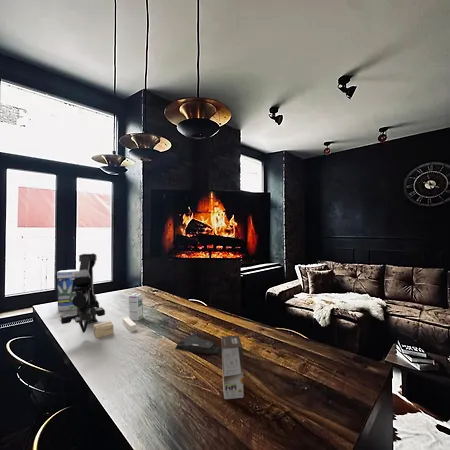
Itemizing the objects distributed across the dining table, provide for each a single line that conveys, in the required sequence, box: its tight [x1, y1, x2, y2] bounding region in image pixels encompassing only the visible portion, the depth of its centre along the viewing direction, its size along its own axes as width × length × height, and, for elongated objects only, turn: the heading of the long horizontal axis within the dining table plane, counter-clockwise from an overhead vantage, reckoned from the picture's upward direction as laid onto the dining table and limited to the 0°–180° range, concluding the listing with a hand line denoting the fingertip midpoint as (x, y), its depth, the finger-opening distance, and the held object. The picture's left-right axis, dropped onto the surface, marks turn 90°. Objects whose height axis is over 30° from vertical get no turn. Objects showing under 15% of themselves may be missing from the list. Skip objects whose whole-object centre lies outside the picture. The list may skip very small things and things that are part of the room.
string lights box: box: [56, 269, 81, 311], centre depth 176 cm, size 13×8×26 cm, turn 104°
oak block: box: [93, 320, 114, 339], centre depth 133 cm, size 6×8×5 cm
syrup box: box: [128, 292, 144, 321], centre depth 153 cm, size 6×6×14 cm
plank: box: [122, 316, 137, 333], centre depth 141 cm, size 14×3×3 cm, turn 37°
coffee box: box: [220, 334, 245, 400], centre depth 85 cm, size 9×6×16 cm
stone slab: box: [174, 332, 222, 355], centre depth 116 cm, size 22×16×5 cm
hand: (83, 332), depth 127 cm, fingers closed
